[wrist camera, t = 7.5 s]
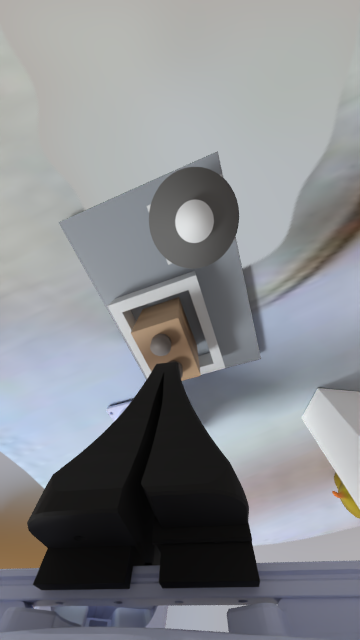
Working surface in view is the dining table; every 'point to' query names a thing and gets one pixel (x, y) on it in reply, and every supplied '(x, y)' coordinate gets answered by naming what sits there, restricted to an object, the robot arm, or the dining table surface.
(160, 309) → the block with grey pegs
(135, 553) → the robot arm
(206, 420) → the dining table surface
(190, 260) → the wheel
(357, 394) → the milk
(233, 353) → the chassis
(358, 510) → the yellow bird figurine
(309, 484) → the dining table surface
